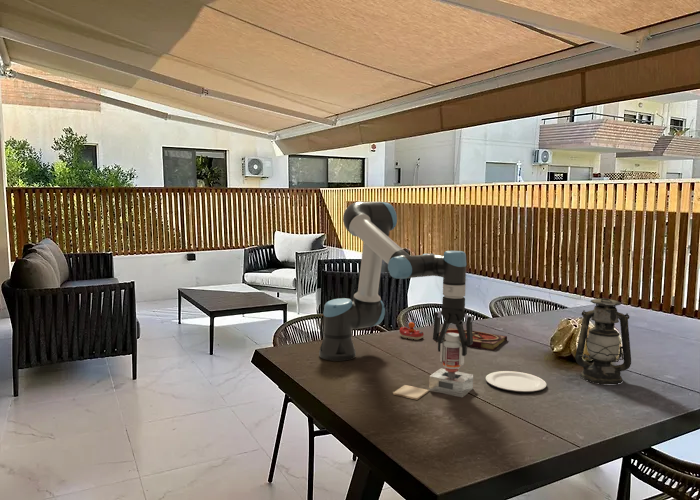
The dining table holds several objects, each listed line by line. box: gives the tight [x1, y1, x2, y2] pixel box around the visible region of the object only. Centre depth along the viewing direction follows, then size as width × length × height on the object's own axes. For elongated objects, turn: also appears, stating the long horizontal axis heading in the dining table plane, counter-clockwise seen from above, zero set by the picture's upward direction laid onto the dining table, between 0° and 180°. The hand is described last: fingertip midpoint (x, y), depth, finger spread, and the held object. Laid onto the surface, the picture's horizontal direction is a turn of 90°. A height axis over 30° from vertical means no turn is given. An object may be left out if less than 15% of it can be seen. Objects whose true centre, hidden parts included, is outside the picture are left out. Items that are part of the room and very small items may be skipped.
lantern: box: [574, 298, 632, 385], centre depth 189 cm, size 19×19×30 cm
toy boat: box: [399, 321, 425, 341], centre depth 248 cm, size 8×12×8 cm, turn 56°
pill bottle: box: [442, 333, 462, 370], centre depth 179 cm, size 6×6×11 cm
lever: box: [444, 367, 459, 378], centre depth 179 cm, size 4×4×6 cm
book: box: [433, 327, 508, 351], centre depth 243 cm, size 28×21×5 cm
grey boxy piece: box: [428, 367, 474, 398], centre depth 180 cm, size 12×10×5 cm
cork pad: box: [392, 384, 430, 401], centre depth 176 cm, size 9×9×1 cm
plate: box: [485, 370, 548, 393], centre depth 186 cm, size 21×21×2 cm
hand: (451, 362), depth 179 cm, fingers closed on pill bottle, 6 cm apart
